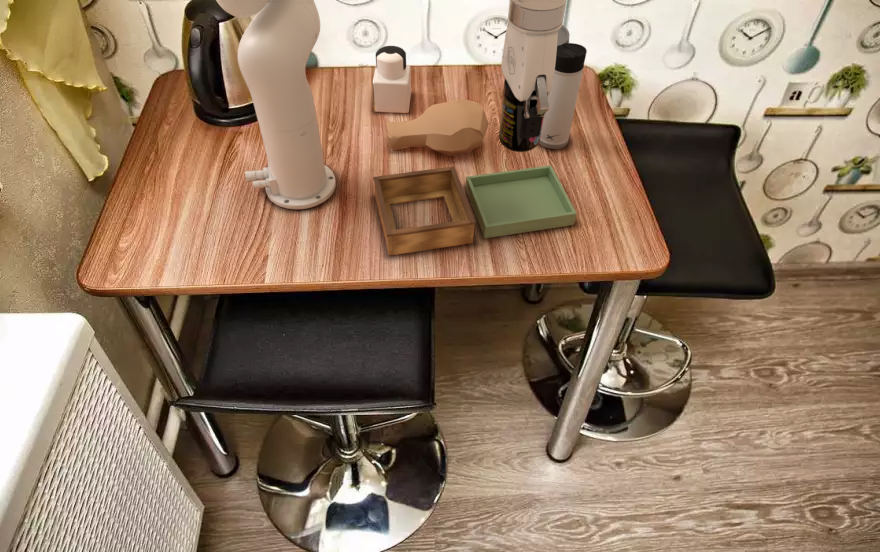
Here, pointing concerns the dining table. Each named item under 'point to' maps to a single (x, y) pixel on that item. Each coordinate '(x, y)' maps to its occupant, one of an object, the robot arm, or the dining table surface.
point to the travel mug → (563, 95)
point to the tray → (519, 201)
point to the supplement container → (515, 122)
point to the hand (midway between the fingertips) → (521, 121)
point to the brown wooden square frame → (424, 188)
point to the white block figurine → (391, 81)
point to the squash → (442, 128)
